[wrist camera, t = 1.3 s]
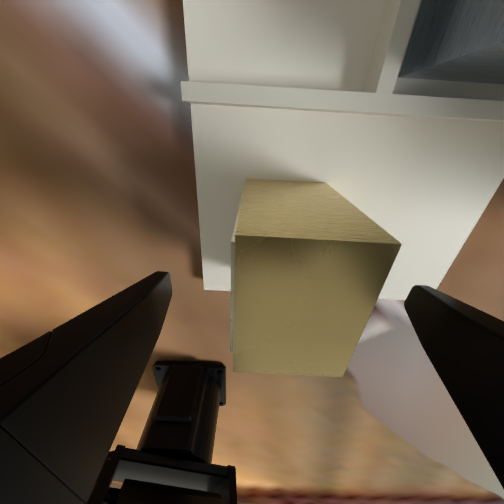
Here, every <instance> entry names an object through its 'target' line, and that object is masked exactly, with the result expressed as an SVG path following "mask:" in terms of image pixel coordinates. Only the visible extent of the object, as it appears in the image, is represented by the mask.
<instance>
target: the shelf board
mask: <svg viewBox="0 0 504 504" xmlns="http://www.w3.org/2000/svg"><path fill="white" fill-rule="evenodd" d="M421 2H422V0H183V10H184V23H185V37H186V50H187V64H188V78H189V81H180V82H181V94H182V101H184V102H187V103H190V105H191V118H192V132H193V146H194V159H195V173H196V186H197V200H198V213H199V227H200V241H201V254H202V268H203V281H204V290H220V291H231V239H232V235H233V230H234V226H235V221H236V217H237V212H238V207H239V203H240V198H241V194H242V192H244V187H245V182H246V178H248V179H265V180H283V181H300V182H317V183H327V184H328V185H330V186H331V187H332V188H333V189H335V190H336V191H337V192H338V193H339V194H341V195H342V196H343V197H344V198H346V199H347V200H348V201H349V202H351V203H352V204H353V205H354V206H356V207H357V208H358V209H359V210H361V211H362V212H363V213H364V214H365V215H367V216H368V217H369V218H370V219H372V220H373V221H374V222H375V223H377V224H378V225H379V226H380V227H382V228H383V229H384V230H385V231H387V232H388V233H389V234H390V235H391V236H393V237H394V238H395V239H396V240H398V241H399V242H400V243H401V244H402V245H401V248H400V250H399V252H398V254H397V257H396V259H395V261H394V263H393V266H392V268H391V270H390V272H389V274H388V277H387V279H386V281H385V283H384V286H383V288H382V290H381V292H380V295H379V297H378V299H393V300H406V298H407V296H408V294H409V292H410V290H411V288H412V287H413V286H415V285H426V286H430V287H432V288H434V289H437V287H438V286H439V284H440V282H441V281H442V279H443V277H444V276H445V274H446V272H447V271H448V269H449V267H450V266H451V264H452V262H453V261H454V259H455V258H456V256H457V254H458V253H459V251H460V249H461V248H462V246H463V244H464V243H465V241H466V239H467V238H468V236H469V234H470V233H471V231H472V230H473V228H474V226H475V225H476V223H477V221H478V220H479V218H480V216H481V215H482V213H483V211H484V210H485V208H486V207H487V205H488V203H489V202H490V200H491V198H492V197H493V195H494V193H495V192H496V190H497V188H498V187H499V185H500V183H501V182H502V180H503V179H504V84H492V83H477V82H461V81H445V80H429V79H413V78H398V77H399V74H400V71H401V67H402V64H403V61H404V58H405V54H406V51H407V48H408V44H409V41H410V38H411V35H412V31H413V28H414V25H415V22H416V18H417V15H418V12H419V9H420V5H421Z"/></svg>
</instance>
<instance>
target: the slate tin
mask: <svg viewBox="0 0 504 504" xmlns="http://www.w3.org/2000/svg"><path fill="white" fill-rule="evenodd" d="M398 78H413V79H429V80H445V81H461V82H477V83H492V84H504V0H422V2H421V5H420V9H419V12H418V15H417V18H416V22H415V25H414V28H413V31H412V35H411V38H410V41H409V44H408V48H407V51H406V54H405V58H404V61H403V64H402V67H401V71H400V74H399V77H398Z"/></svg>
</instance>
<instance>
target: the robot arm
mask: <svg viewBox="0 0 504 504" xmlns="http://www.w3.org/2000/svg"><path fill="white" fill-rule="evenodd" d="M171 297H172V285H171V279H170V274H169V273H168V272H162V271H157V272H155V273H153V274H151V275H149V276H148V277H146V278H144V279H142V280H141V281H139V282H137V283H135V284H133V285H132V286H130V287H128V288H126V289H124V290H123V291H121V292H119V293H117V294H116V295H114V296H112V297H110V298H108V299H107V300H105V301H103V302H101V303H100V304H98V305H96V306H94V307H92V308H91V309H89V310H87V311H85V312H83V313H82V314H80V315H78V316H76V317H75V318H73V319H71V320H69V321H67V322H66V323H64V324H62V325H60V326H58V327H57V328H55V329H53V331H52V332H51V331H50V332H48V333H46V334H44V335H42V336H41V337H39V338H37V339H35V340H33V341H32V342H30V343H28V344H26V345H24V346H22V347H21V348H19V349H17V350H15V351H13V352H11V353H10V354H8V355H6V356H4V357H2V358H0V504H237V491H236V469H235V466H230V465H228V466H221V465H216V464H211V462H212V454H213V447H214V439H215V432H216V424H217V417H218V409H219V406H223V405H225V404H226V367H225V366H224V365H222V364H209V363H188V362H167V361H156V362H155V363H154V365H153V371H154V375H155V378H156V382H157V385H158V388H159V390H158V392H157V395H156V398H155V400H154V403H153V406H152V409H151V411H150V414H149V417H148V419H147V422H146V425H145V427H144V430H143V433H142V435H141V438H140V441H139V444H138V446H137V449H136V450H135V449H129V448H125V446H123V445H117V447H116V449H115V451H111V452H109V450H110V448H111V446H112V443H113V441H114V439H115V436H116V434H117V432H118V430H119V427H120V425H121V423H122V420H123V418H124V416H125V413H126V411H127V409H128V407H129V404H130V402H131V400H132V397H133V395H134V393H135V390H136V388H137V386H138V384H139V381H140V379H141V377H142V374H143V372H144V370H145V367H146V365H147V363H148V361H149V358H150V356H151V354H152V351H153V349H154V347H155V345H156V342H157V340H158V337H159V335H160V332H161V329H162V326H163V323H164V320H165V316H166V313H167V310H168V307H169V303H170V300H171ZM404 307H405V310H406V312H407V314H408V316H409V318H410V321H411V323H412V325H413V327H414V329H415V332H416V334H417V336H418V338H419V340H420V342H421V344H422V347H423V348H424V350H425V352H426V354H427V356H428V357H429V359H430V361H431V363H432V364H433V366H434V368H435V370H436V371H437V373H438V375H439V377H440V378H441V380H442V382H443V384H444V385H445V387H446V389H447V390H448V392H449V394H450V396H451V398H452V399H453V401H454V403H455V405H456V406H457V408H458V410H459V412H460V413H461V415H462V417H463V419H464V420H465V422H466V424H467V426H468V427H469V429H470V431H471V433H472V434H473V436H474V438H475V440H476V441H477V443H478V445H479V446H480V448H481V450H482V452H483V454H484V455H485V457H486V459H487V461H488V462H489V464H490V466H491V468H492V469H493V471H494V473H495V475H496V476H497V478H498V480H499V482H500V483H501V485H502V487H503V489H504V321H502V320H500V319H498V318H495V317H493V316H491V315H489V314H487V313H485V312H483V311H481V310H478V309H476V308H474V307H472V306H470V305H468V304H466V303H464V302H461V301H459V300H457V299H455V298H453V297H451V296H449V295H447V294H444V293H442V292H440V291H438V290H436V289H434V288H432V287H430V286H426V285H415V286H413V287H412V288H411V290H410V292H409V294H408V296H407V298H406V300H405V302H404ZM112 480H113V481H119V482H123V484H122V487H121V489H118V488H111V487H110V485H111V483H112Z"/></svg>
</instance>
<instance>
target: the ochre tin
mask: <svg viewBox="0 0 504 504" xmlns="http://www.w3.org/2000/svg"><path fill="white" fill-rule="evenodd" d="M401 245H402V244H401V243H400V242H399V241H398V240H396V239H395V238H394V237H393V236H391V235H390V234H389V233H388V232H387V231H385V230H384V229H383V228H382V227H380V226H379V225H378V224H377V223H375V222H374V221H373V220H372V219H370V218H369V217H368V216H367V215H365V214H364V213H363V212H362V211H361V210H359V209H358V208H357V207H356V206H354V205H353V204H352V203H351V202H349V201H348V200H347V199H346V198H344V197H343V196H342V195H341V194H339V193H338V192H337V191H336V190H335V189H333V188H332V187H331V186H330V185H328V184H327V183H317V182H300V181H283V180H265V179H248V178H246V182H245V187H244V192H242V194H241V198H240V203H239V207H238V212H237V217H236V221H235V226H234V230H233V235H232V239H231V341H230V351H233V372H248V373H269V374H290V375H311V376H332V377H343V375H344V373H345V370H346V368H347V366H348V364H349V361H350V359H351V357H352V355H353V352H354V350H355V348H356V346H357V344H358V341H359V339H360V337H361V335H362V332H363V330H364V328H365V326H366V324H367V321H368V319H369V317H370V315H371V312H372V310H373V308H374V306H375V303H376V301H377V299H378V297H379V295H380V292H381V290H382V288H383V286H384V283H385V281H386V279H387V277H388V274H389V272H390V270H391V268H392V266H393V263H394V261H395V259H396V257H397V254H398V252H399V250H400V248H401Z"/></svg>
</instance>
